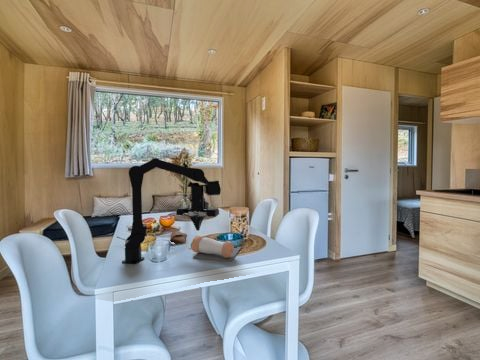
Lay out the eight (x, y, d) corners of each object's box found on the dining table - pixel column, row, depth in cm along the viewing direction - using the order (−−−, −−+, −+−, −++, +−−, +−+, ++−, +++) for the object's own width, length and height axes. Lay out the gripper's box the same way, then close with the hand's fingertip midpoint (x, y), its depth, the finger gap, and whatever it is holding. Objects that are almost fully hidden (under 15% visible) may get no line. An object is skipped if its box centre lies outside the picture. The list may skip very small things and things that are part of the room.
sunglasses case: (187, 243, 131) (180, 232, 130) (175, 251, 130) (167, 240, 129) (186, 234, 149) (180, 224, 148) (176, 241, 148) (169, 231, 147)
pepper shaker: (189, 249, 113) (227, 257, 104) (194, 233, 116) (231, 239, 107) (198, 253, 119) (234, 261, 110) (203, 238, 122) (238, 244, 113)
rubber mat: (231, 261, 107) (231, 260, 107) (193, 257, 111) (193, 256, 111) (241, 247, 125) (241, 246, 124) (208, 245, 129) (208, 244, 129)
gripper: (222, 194, 122) (223, 227, 123) (186, 193, 127) (187, 225, 128) (214, 197, 111) (215, 233, 112) (175, 196, 116) (176, 231, 117)
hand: (198, 230), depth 118 cm, fingers closed
